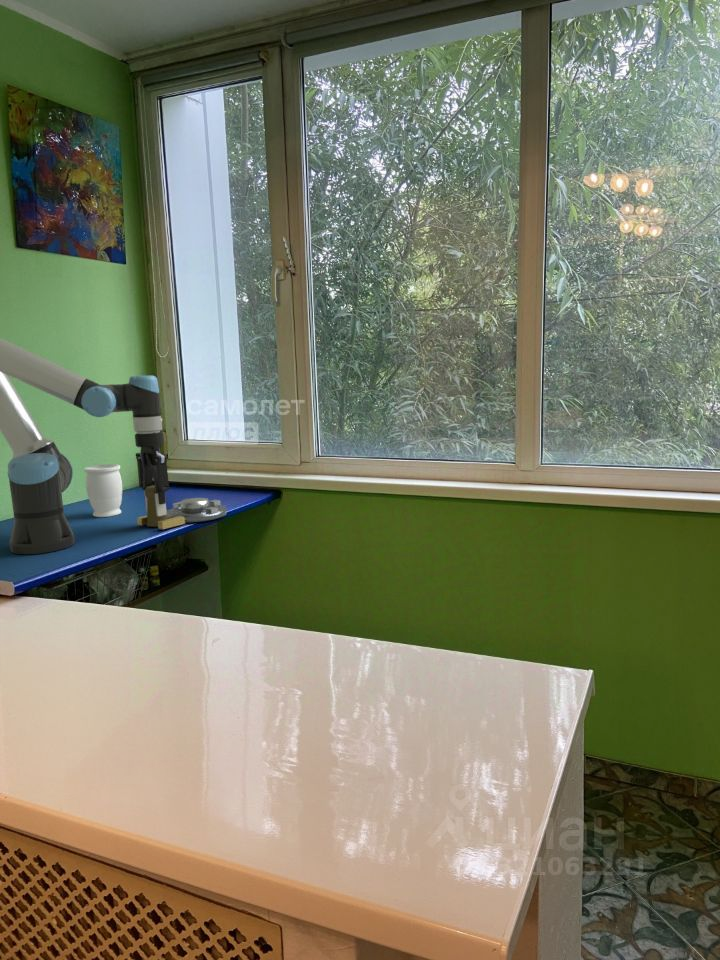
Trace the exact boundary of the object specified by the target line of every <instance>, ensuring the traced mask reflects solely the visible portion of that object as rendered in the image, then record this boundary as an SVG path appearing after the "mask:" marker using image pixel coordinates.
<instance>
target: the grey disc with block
mask: <svg viewBox="0 0 720 960" xmlns="http://www.w3.org/2000/svg"><path fill="white" fill-rule="evenodd" d="M166 511H167V516H168V519H166V520H162V521H158V526H157V528H158V529H159V530H165V529H170V528H174V527H178V526H181V525H184V524H185V525H186V524H187V523H188V524H189V523H190V524H191V523H199V522H207V521H212V520H213V521H214V520H216V519H221V518H222V517H225V516H226V515H227V506H225V505H222V504H221V500H219V499H212V500H209V498H205V497H191V498H185V499H183V500H180V501H178V502H173V503H172V508H170V509H169V508H168V509H166ZM136 519H137V525H138V526H145V525H146V526H147V515H143V516H139V517H137V518H136Z"/></svg>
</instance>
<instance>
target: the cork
mask: <svg viewBox="0 0 720 960" xmlns="http://www.w3.org/2000/svg"><path fill="white" fill-rule="evenodd" d="M155 491H156V489H155V484H154V485H153V484H152V486H149V487H147V488H146V489H145V494H144V496H145V495H146V497H147V498H148V502H147V513H146V516H147V524H146V526H147V527H158V521H162V520H166V519H168V516H167V515H163V516H157V514H156V503H155V493H154V492H155Z"/></svg>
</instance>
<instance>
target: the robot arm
mask: <svg viewBox="0 0 720 960" xmlns="http://www.w3.org/2000/svg"><path fill="white" fill-rule="evenodd" d="M10 377H11V378H13V379H15V380H18V381H20V382H22V383H25V384H26V385H29V386H30V387H33V388H35V389H37V390H39V391H42V392H44V393H46V394H49V395H51V396H53V397H55V398H58V399H60V400H62V401H64V402H67V403H68V404H71V405H73V406H75V407H77V408H79V409H81V410H83V411H85V412H86V413H87V414H88V415H90V416H92V417H95V418H103V417H107V416H109V415H110V414H113V413H122V412H123V413H124V412H126V413H127V412H132V422H133V423H132V424H133V431H134V432H135V434H134V442H135V446H136V447H137V448H140V452H136V453H135V459H136V464H137V475H138V487H139V488H142V490H143V492H144V502H145V503H144V504H145V512H146V514H147V502H148V498H147V497H146V495H145V489H146V488H147V487H149V486H153V484H154V485H155V489H156V491H155V492H154V493H155V503H156V514H157V516H163V515H167V502H166V492H167V491H169V490H170V484H169V474H168V473H169V471H168V456H167V455H166V454H162V451H161V448H160V447H161V446H164V444H165V441H164V433H163V431H162V430H163V418H162V413H161V412H162V407H161V397H160V388H159V382H158V378H157V377H156V376H155V375H136V376H135V375H134V376H129V379H128V383H122V384H99V383H98V382H95V381H93V380H91V379H88V378H87V377H84V376H82V375H80V374H78V373H75V372H73V371H71V370H69V369H67V368H65V367H62V366H61V365H60V364H59V365H58V364H56V363H54V362H53V361H50V360H48V359H47V358H46V359H45V358H43V357H41V356H39V355H38V354H35V353H33V352H31V351H29V350H27V349H26V348H23V347H21V346H18V345H16V344H14V343H12V342H10V341H7V340H6V339H3V338H1V337H0V433H1V434H2V435H3V438H4V439H5V441H6V442H7V445H8V446H9V448H10V450H11V451H12V452H13V453H12V458H11V460H9V462H8V464H7V477H8V482H9V491H10V497H11V503H12V505H11V506H12V511H13V512H12V513H13V526H12V531H11V534H10V535H11V536H10V539H9V550H10V552H11V553H13V554H18V555H36V554H37V555H39V554H45V553H50V552H51V553H52V552H57V551H61V550H64V549H66V548H69V547H72V546H73V545H74V544H75V541H76V540H75V533H74V532H73V529H72V528H71V526H70V523H69V521H68V520H67V517H66V516H65V511H64V503H63V494H62V493H63V492H65V491H66V490H67V489H68V488H69V486H70V485H71V483H72V479H73V475H74V469H73V466H72V464H71V462H70V460H69V459H68V458H67V457H66V456H65V454H63V453H61V452H60V450H59V449H58V447H57V445H56V443H55V442H54V440H52V439H49V438H46V437H45V436H44V435H43V433H42V431H41V430H40V428H39V426H38V425H37V423H36V421H35V420H34V418H33V416H32V414H31V413H30V411H29V409H28V408H27V406H26V404H25V402H24V400H23V399H22V398H21V396H20V394H19V392H18V390H17V389H16V388H15V386H14V384H13V383H12V382H13V381H12V380H11V379H10Z"/></svg>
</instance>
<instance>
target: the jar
mask: <svg viewBox="0 0 720 960" xmlns="http://www.w3.org/2000/svg"><path fill="white" fill-rule="evenodd" d="M120 469H121V465H120V464H113V463H112V464H111V463H107V464H97V465H91V466H86V467H84V469H83V470H84V472H85V473H86V476H85V477H86V478H85V489H86V493H87V494H86V495H87V496H88V500H89V504H90V506H91V508H92V509H93V513H92V516H93V517H94V518H108V517H114V516H118V515H120V514H122V510H121V509H120V507H121V504H122V501H123V481H122V476H121V473H120Z"/></svg>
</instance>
